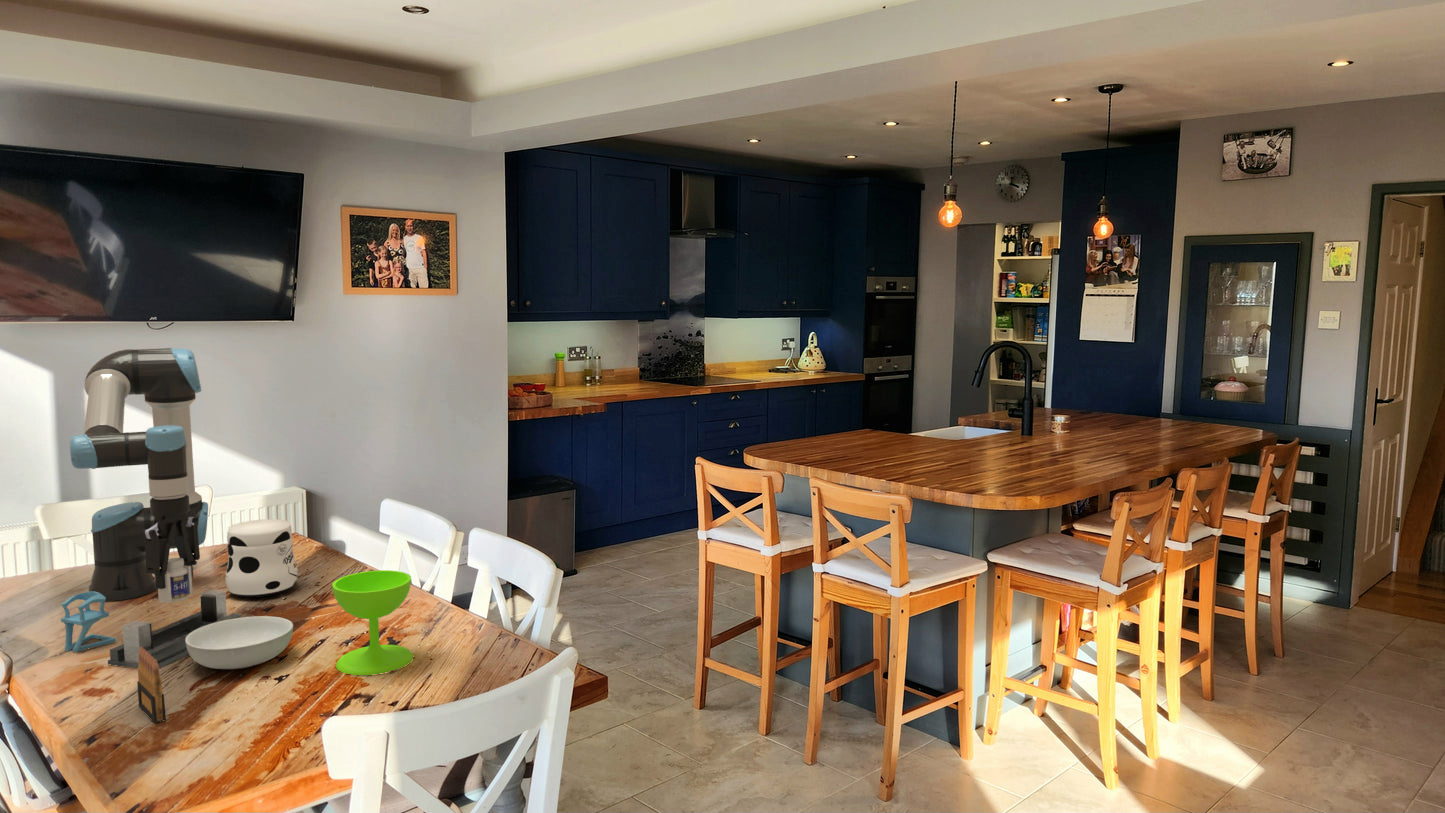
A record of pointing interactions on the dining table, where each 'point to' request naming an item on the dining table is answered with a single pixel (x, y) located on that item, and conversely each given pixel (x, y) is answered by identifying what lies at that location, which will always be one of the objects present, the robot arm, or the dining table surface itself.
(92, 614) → the chair
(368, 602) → the wineglass
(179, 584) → the pill bottle
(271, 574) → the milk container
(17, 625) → the dining table surface
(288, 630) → the serving bowl
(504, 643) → the dining table surface
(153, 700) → the ammunition clip
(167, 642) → the rail
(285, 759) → the dining table surface
